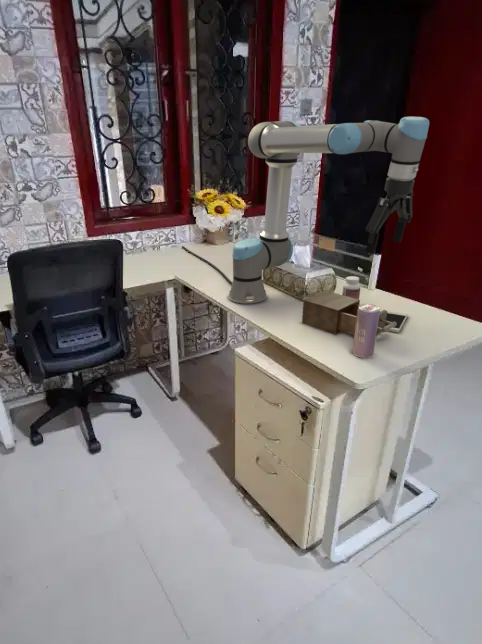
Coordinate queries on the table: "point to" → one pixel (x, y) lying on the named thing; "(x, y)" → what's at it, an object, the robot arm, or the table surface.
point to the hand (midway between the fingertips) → (383, 246)
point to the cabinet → (326, 310)
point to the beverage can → (365, 330)
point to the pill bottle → (351, 287)
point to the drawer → (349, 320)
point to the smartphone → (396, 320)
